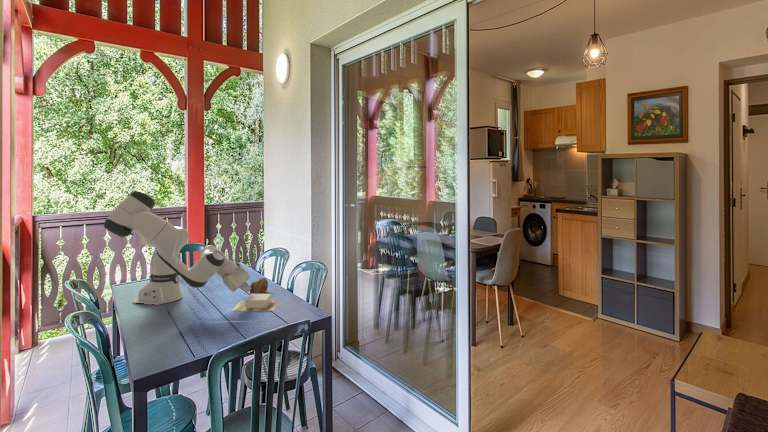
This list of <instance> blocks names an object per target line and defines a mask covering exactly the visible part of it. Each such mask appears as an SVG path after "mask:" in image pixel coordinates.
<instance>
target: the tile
mask: <svg viewBox="0 0 768 432" xmlns="http://www.w3.org/2000/svg"><path fill="white" fill-rule="evenodd" d="M272 300H273V299H272V293H262V294H251V295H250V294H249V295H248V297H246V298H245V300H244V301H245V305H246V308H267V307H268V305H269V304H270V303H271V301H272Z"/></svg>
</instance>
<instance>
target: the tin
mask: <svg viewBox="0 0 768 432" xmlns="http://www.w3.org/2000/svg"><path fill="white" fill-rule="evenodd" d="M249 286H250V287H251V290H250V291H249V293H250V294H249V296H250V295H251V294H266V292H267V291H268V286H269V282H268V280H267V279H266V278H265V277H262V278H261V277H260V278H258V279H257V280H255V281H253V282H251V284H250V285H249Z"/></svg>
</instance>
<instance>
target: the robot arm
mask: <svg viewBox="0 0 768 432" xmlns="http://www.w3.org/2000/svg"><path fill="white" fill-rule="evenodd" d="M155 202H156V201H155V199H154V198H153V197H152V196H151V194H149V192H148V193H147V192H145V191H142V190H140V189H138V190H133V191H131V192H130V193H129V194H128V196H127V197H125V198H124V199H123V200H122V201H120V203H119V204H117V206H116V207H115V208H114V210H113V211H112V213H110V215H109V216H108V217H107V218H106V219H105V220H104V222H103V227H104V228H105V230H106V232H107V233H109V234H110V235H112V236H115V237H119V238H126V237H128V236H134V234H133V232H134V233H136V234H137V236H138V237H137V240H138V242H139V243H140V244H142V245H144V246H147V247H153V248H154V247H155V249H156V256H155V257H154V258H152V259H153V260H152V269H153V273H152V274H150V275H149V276H148V279H150V281H148V282H147V283H146V284H144V285H143V286H141V288H140V289H139V290H138V293H137V297H136V298H134V299H133V300H132V304H136V303H144V304H143V305H152V304H154V305H155V306H157V305H159V306H160V305H163V304H168V303H172V302H177V301H178V300H181V299H183V293H182V291H181V285H180V277H181V278H182V279H183V281H184V282H185V283H186V284H187V285H188V286H189V287H191V288H194V289H195V288H197V289H199V288H203V287H204V286H205V285H206V284H207V283H208V282H209V280H210V279H211V278H212V277H213V276H214V275H215V274H216V275H218V276H219V277H220V278H221V279H222V282H223V284H224V285H225V286H226V287H227V289H228V290H229V291H231V292H233V293H235V292H236V291H237V290H238V289H239V288H240V289H241V290H243V291H244V292H245V293H250V290H251V287H250V286H251V285H249V283H248V282H247V281H249V279H250V278H251V274H250V273H249V272H248V271H247V270H246V269H245V268H244V267H243V266H242V264H240V263H239V262H233V261H232V260H231V259H229V258H228V257H227V256H226V254H225V253H223V252H222V251H221V250H220V249H219V248H218V247H216V246H214V245H213V244H209V245H207V246H204V247H203V248H202V249H201V250H200V251H199V253H198V255H199V257H200V258H199V259H198V260H196V263H194V264H193V265H192V266H191V267H188V266H187V265H186V264H185V263H184V262H182V260H180V258H179V253H180V251H181V250H182V248H184V246H186V245H187V244H188V242H189V240H190V234H189V231H188V230H187V229H186V228H185V227H182V226H176V225H173V224H172V223H171V222H169V221H168V220H166V219H164V218H163V217H161V216H159V215H157V214H155V213H154V212H151V210H153V209H154V207H155V205H156V203H155ZM241 266H242V267H241Z"/></svg>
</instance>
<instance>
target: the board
mask: <svg viewBox="0 0 768 432" xmlns="http://www.w3.org/2000/svg"><path fill="white" fill-rule="evenodd" d="M280 301H281V300H280V299H279V300H277V299H274V300H273V299H272V301H271V303H270V304H269V305H268V307H267V308H246V305H245V300H239V302H238V303H237V304H236V305H235V306H234V307H233V308H232V309H231V310H230V311H231V312H256V311H257V312H264V311H265V312H269V311H270V312H271V311H272V312H273V311H274V310H275V308H276V307H277V305H278V304H279V303H280Z"/></svg>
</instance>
